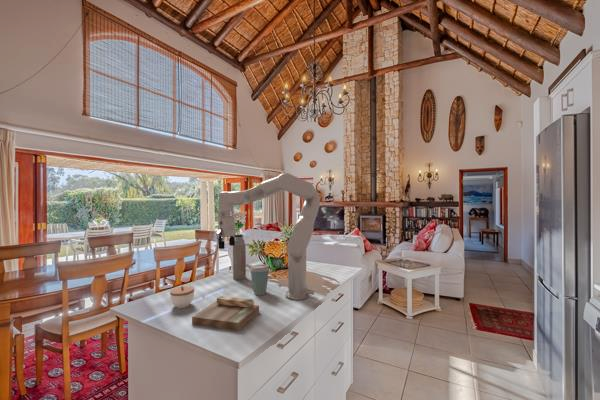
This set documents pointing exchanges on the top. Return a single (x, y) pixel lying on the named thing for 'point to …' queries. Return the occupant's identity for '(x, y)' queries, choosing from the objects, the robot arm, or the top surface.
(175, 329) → the top surface
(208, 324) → the brown wooden flat board
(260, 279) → the disposable coffee cup
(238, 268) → the thermos bottle
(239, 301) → the oak leg
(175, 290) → the lidded jar
